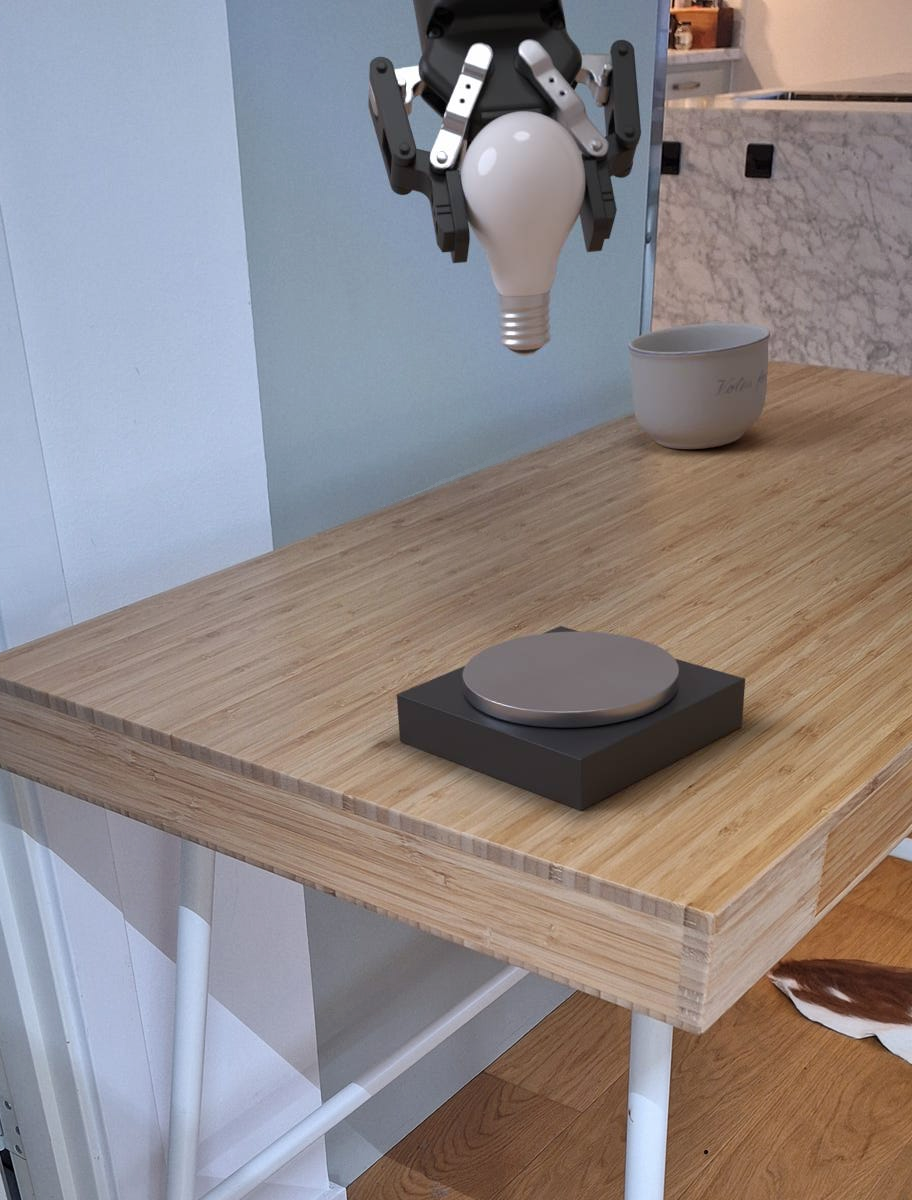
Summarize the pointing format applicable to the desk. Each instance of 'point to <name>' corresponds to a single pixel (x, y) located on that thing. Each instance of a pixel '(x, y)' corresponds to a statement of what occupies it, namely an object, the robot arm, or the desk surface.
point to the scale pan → (570, 679)
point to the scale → (571, 736)
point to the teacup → (699, 382)
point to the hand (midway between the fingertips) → (530, 245)
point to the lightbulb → (523, 215)
